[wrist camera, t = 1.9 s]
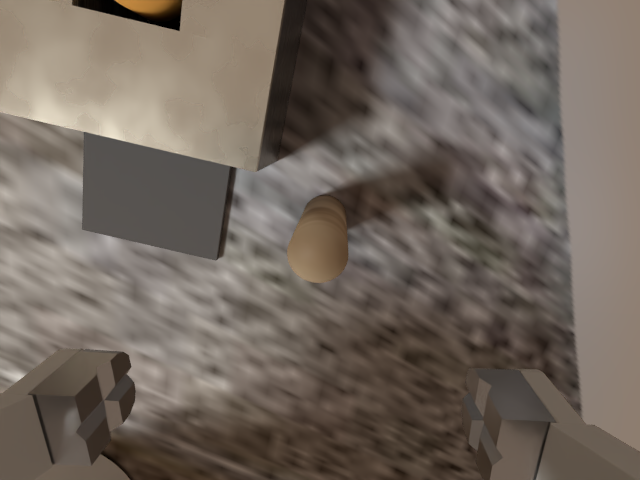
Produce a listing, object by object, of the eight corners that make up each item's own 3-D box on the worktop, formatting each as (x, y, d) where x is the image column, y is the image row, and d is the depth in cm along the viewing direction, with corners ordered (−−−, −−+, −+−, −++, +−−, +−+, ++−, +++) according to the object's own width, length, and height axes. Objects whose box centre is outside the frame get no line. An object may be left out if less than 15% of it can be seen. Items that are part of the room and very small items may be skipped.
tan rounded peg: (340, 240, 26) (340, 288, 18) (299, 231, 26) (282, 275, 18) (350, 200, 25) (355, 233, 17) (308, 190, 25) (293, 218, 17)
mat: (217, 258, 27) (216, 260, 26) (85, 227, 26) (82, 229, 26) (233, 150, 24) (232, 151, 24) (88, 116, 24) (84, 116, 24)
